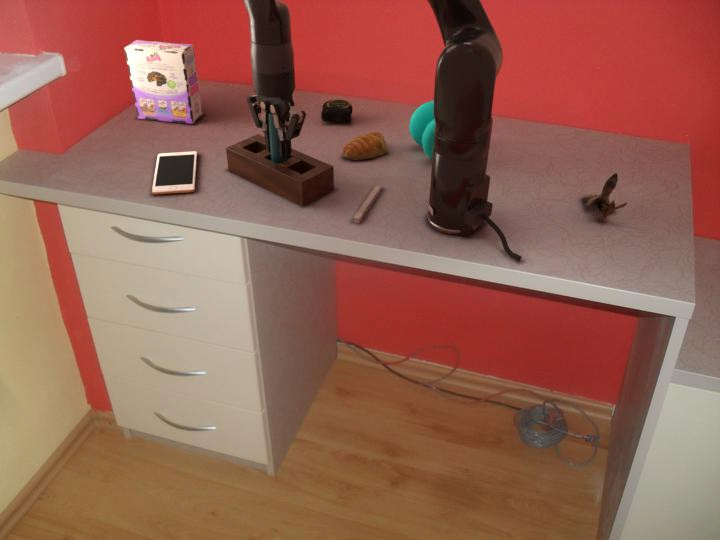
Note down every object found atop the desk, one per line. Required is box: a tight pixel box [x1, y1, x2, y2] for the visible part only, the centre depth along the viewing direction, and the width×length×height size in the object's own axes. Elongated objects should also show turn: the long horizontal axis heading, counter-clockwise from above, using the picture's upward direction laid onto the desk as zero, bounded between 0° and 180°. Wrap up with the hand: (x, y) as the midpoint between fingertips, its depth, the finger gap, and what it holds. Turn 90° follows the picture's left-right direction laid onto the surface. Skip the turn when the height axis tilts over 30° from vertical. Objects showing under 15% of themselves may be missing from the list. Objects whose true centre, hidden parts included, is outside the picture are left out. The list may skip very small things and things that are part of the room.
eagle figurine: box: [580, 172, 628, 222], centre depth 127 cm, size 8×7×9 cm
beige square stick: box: [352, 184, 382, 224], centre depth 129 cm, size 12×1×1 cm, turn 160°
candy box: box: [123, 39, 203, 125], centre depth 156 cm, size 14×6×16 cm, turn 77°
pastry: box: [342, 130, 389, 161], centre depth 146 cm, size 9×7×4 cm
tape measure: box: [320, 98, 353, 124], centre depth 159 cm, size 7×7×4 cm
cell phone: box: [151, 150, 198, 195], centre depth 138 cm, size 8×16×1 cm, turn 9°
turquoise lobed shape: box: [408, 100, 435, 160], centre depth 144 cm, size 10×10×10 cm
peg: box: [268, 112, 287, 164], centre depth 133 cm, size 3×3×13 cm
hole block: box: [225, 133, 335, 207], centre depth 136 cm, size 8×21×5 cm, turn 49°
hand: (278, 153), depth 134 cm, fingers closed on peg, 3 cm apart
